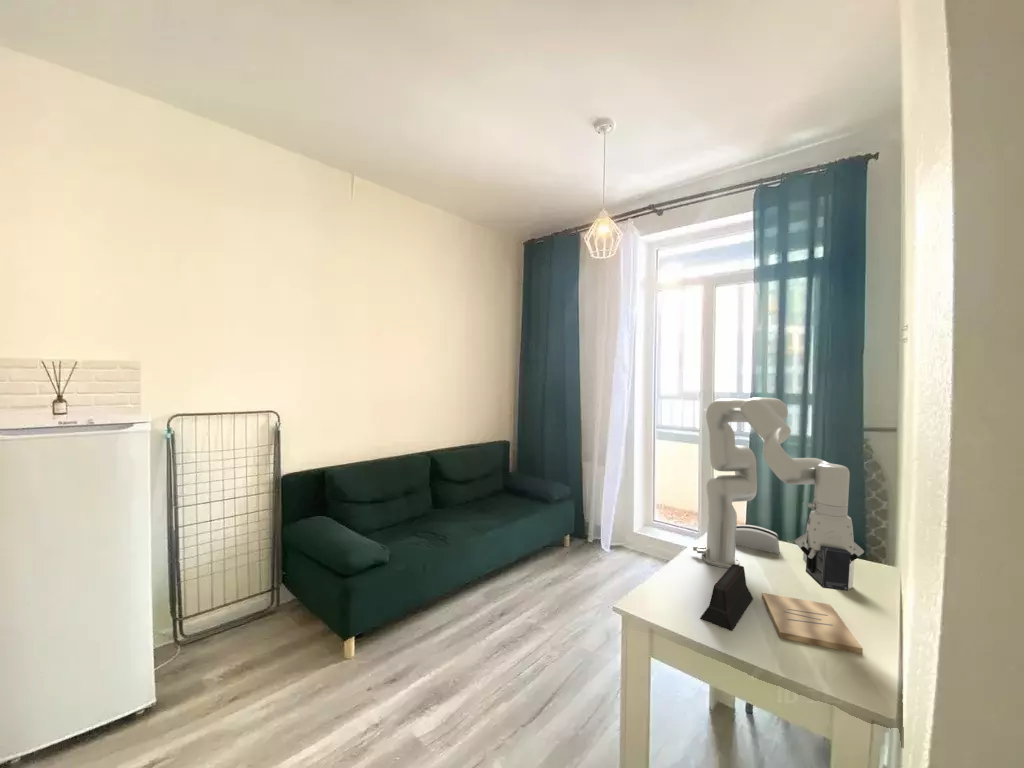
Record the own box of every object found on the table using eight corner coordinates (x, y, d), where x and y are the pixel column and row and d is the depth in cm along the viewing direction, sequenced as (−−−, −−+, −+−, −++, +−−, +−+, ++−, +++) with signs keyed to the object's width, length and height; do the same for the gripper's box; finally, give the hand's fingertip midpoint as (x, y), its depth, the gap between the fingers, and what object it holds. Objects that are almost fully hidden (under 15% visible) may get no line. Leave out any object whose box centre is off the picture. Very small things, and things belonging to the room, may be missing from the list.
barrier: (732, 632, 117) (734, 595, 117) (699, 619, 123) (700, 584, 122) (754, 599, 135) (755, 567, 134) (723, 589, 140) (725, 558, 140)
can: (845, 591, 142) (847, 554, 141) (824, 581, 148) (826, 546, 147) (857, 587, 144) (859, 551, 144) (835, 578, 150) (837, 544, 150)
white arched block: (779, 549, 174) (780, 528, 171) (779, 557, 170) (779, 536, 167) (733, 539, 183) (733, 519, 180) (731, 546, 180) (731, 526, 176)
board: (779, 637, 115) (780, 631, 115) (761, 597, 136) (762, 592, 136) (862, 654, 109) (862, 648, 109) (830, 609, 130) (830, 604, 130)
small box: (850, 592, 115) (852, 552, 114) (822, 588, 116) (824, 549, 116) (829, 574, 125) (832, 537, 125) (804, 571, 126) (806, 535, 126)
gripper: (797, 509, 119) (794, 573, 120) (875, 518, 114) (871, 585, 114) (790, 501, 126) (786, 562, 127) (862, 509, 121) (858, 573, 121)
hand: (826, 573), depth 121 cm, fingers closed on small box, 6 cm apart
